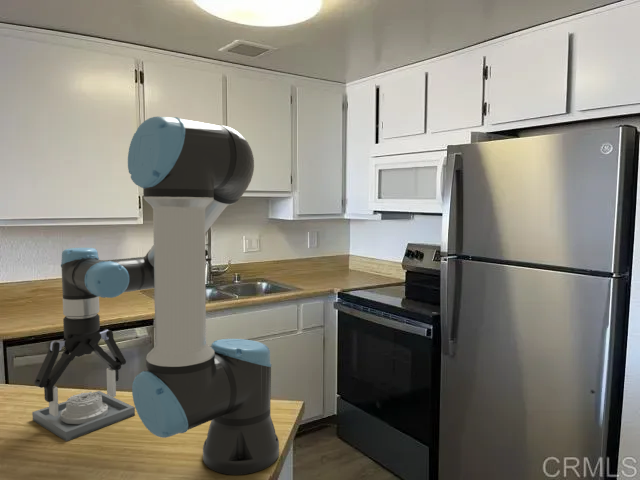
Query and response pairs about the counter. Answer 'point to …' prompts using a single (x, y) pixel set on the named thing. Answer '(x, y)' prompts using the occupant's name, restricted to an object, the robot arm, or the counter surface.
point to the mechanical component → (84, 408)
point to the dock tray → (71, 431)
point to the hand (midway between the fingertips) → (84, 404)
